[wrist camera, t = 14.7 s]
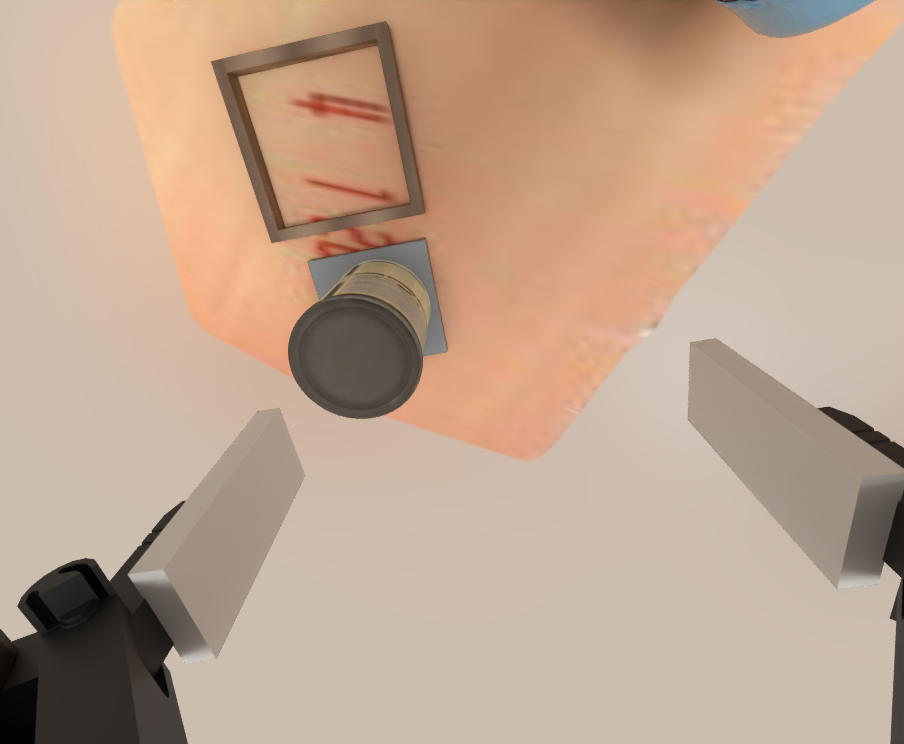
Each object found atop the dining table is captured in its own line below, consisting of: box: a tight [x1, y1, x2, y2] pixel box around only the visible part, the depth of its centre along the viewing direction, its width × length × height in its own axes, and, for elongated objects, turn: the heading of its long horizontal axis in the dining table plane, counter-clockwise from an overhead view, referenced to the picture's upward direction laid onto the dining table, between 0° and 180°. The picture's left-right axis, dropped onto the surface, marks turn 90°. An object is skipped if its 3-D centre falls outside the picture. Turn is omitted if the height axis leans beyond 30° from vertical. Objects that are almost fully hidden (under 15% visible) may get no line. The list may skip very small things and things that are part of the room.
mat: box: [308, 239, 448, 356], centre depth 49 cm, size 12×12×1 cm
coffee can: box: [288, 259, 431, 419], centre depth 42 cm, size 10×10×14 cm
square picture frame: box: [211, 21, 425, 243], centre depth 42 cm, size 15×15×2 cm
